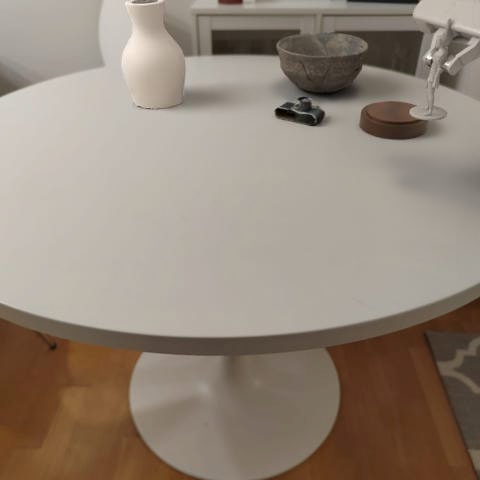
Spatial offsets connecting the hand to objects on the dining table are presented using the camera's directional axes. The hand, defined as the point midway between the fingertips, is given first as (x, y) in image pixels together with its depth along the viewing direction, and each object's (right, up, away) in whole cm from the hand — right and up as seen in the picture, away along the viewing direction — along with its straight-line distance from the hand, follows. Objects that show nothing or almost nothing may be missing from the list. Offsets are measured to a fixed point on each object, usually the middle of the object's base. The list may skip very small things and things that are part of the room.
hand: (437, 67), depth 63 cm
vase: (-46, +14, +44) cm, 65 cm away
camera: (-15, +5, +33) cm, 37 cm away
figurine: (+1, -5, +5) cm, 7 cm away
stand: (+3, +2, +29) cm, 29 cm away
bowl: (-8, +17, +47) cm, 50 cm away
